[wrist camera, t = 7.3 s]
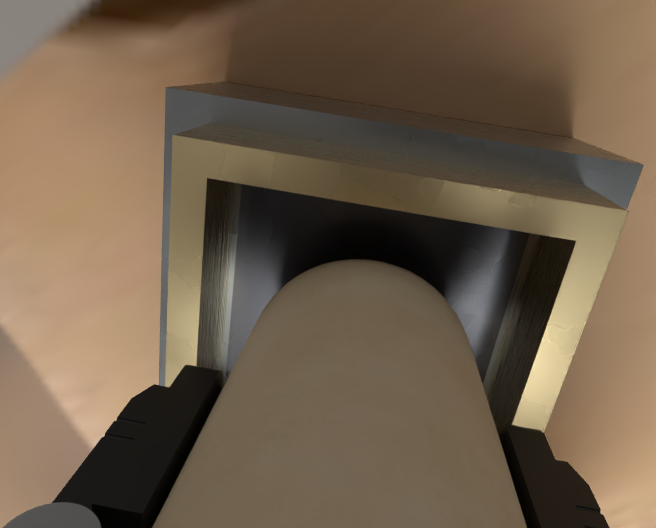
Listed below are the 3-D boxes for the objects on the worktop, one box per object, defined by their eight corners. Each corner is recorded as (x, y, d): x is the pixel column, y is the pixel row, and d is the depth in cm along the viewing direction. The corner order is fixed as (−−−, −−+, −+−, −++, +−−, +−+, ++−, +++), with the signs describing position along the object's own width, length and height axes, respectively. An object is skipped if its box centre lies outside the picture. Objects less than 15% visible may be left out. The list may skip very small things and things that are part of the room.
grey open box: (573, 138, 17) (703, 187, 10) (487, 405, 21) (537, 571, 14) (224, 81, 18) (117, 91, 11) (206, 352, 22) (121, 488, 15)
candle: (286, 225, 12) (-49, 759, 3) (505, 298, 12) (909, 1062, 3) (232, 404, 14) (-65, 1061, 5) (420, 467, 14) (488, 1228, 5)
